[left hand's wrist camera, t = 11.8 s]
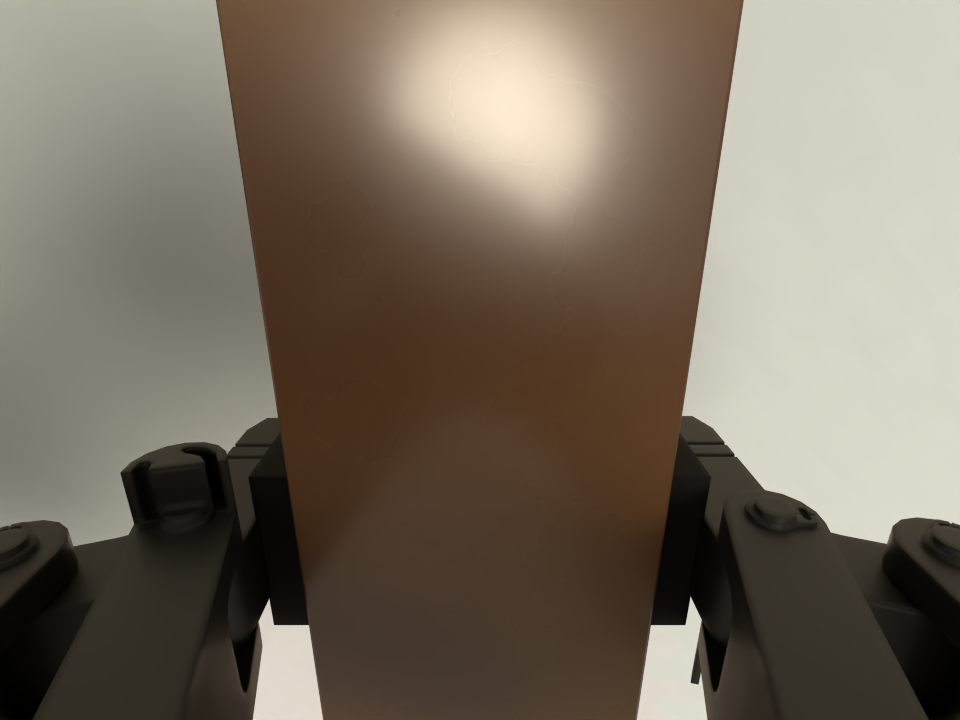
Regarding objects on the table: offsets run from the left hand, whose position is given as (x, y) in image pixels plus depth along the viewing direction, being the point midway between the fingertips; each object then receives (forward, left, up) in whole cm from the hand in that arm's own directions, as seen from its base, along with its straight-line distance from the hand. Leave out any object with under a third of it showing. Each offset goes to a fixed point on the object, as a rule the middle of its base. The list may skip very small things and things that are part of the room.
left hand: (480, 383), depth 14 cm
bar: (-2, +18, 0) cm, 19 cm away
